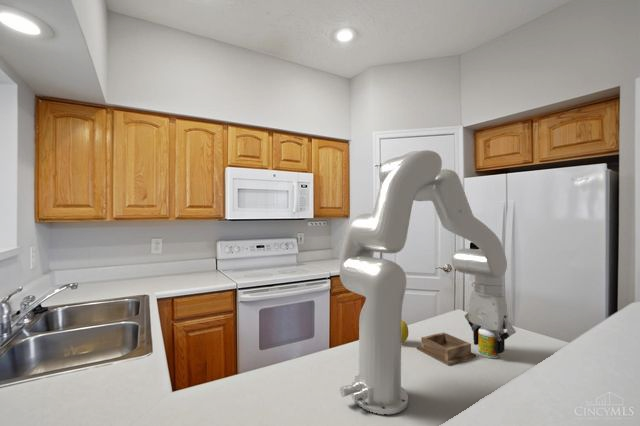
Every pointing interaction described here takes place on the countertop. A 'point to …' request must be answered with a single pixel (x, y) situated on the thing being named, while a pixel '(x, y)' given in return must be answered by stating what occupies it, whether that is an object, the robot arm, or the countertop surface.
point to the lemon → (404, 331)
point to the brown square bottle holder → (446, 348)
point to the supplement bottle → (487, 343)
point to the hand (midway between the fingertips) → (488, 347)
